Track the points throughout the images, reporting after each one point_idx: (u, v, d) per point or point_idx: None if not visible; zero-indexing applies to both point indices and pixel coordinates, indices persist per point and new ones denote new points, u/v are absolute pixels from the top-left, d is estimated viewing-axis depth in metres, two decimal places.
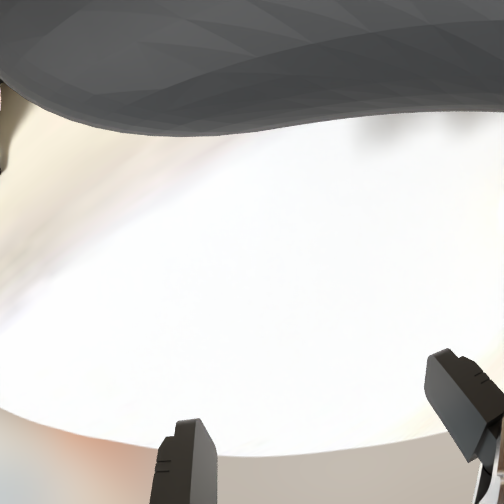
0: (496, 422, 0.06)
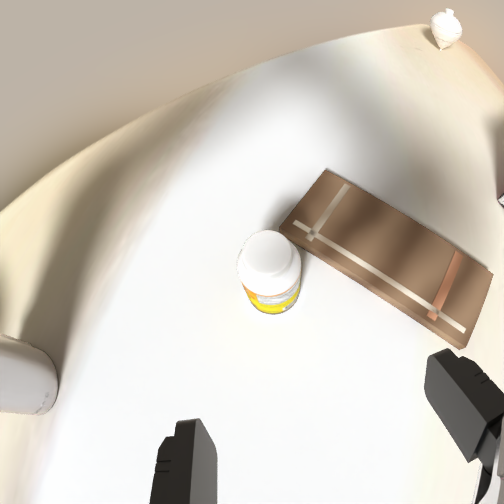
0: (496, 422, 0.06)
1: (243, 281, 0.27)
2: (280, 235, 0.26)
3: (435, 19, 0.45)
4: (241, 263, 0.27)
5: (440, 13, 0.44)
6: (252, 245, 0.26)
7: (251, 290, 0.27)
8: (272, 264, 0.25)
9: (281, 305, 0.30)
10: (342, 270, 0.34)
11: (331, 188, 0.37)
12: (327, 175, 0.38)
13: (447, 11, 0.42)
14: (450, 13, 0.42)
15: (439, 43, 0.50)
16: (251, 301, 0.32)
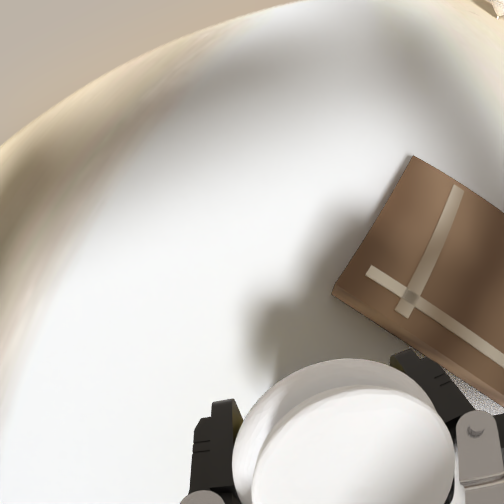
0: (453, 425, 0.06)
1: None
2: (421, 410, 0.05)
3: None
4: (248, 473, 0.06)
5: None
6: (300, 465, 0.05)
7: None
8: None
9: None
10: (462, 375, 0.13)
11: (433, 194, 0.16)
12: (419, 166, 0.17)
13: None
14: None
15: (497, 8, 0.29)
16: None
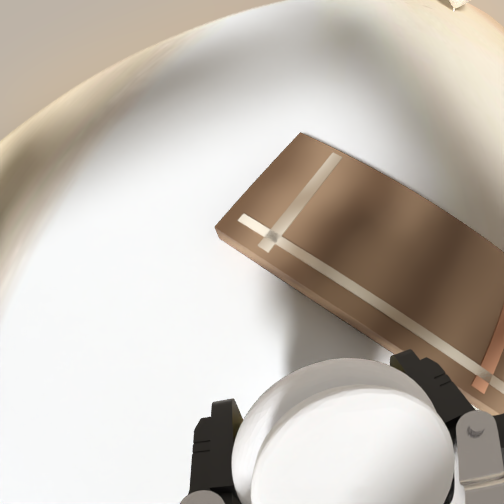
0: (453, 425, 0.06)
1: None
2: (421, 410, 0.05)
3: None
4: (248, 473, 0.06)
5: None
6: (299, 464, 0.05)
7: None
8: None
9: None
10: (325, 305, 0.19)
11: (310, 160, 0.22)
12: (303, 140, 0.23)
13: None
14: None
15: (452, 1, 0.34)
16: None
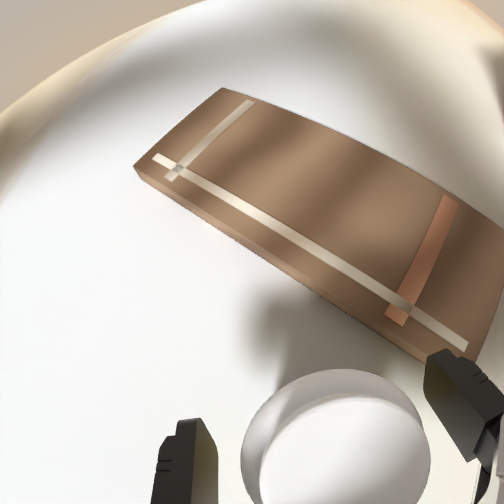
0: (495, 422, 0.06)
1: None
2: (400, 415, 0.06)
3: None
4: (255, 468, 0.07)
5: None
6: (299, 459, 0.06)
7: None
8: None
9: None
10: (221, 228, 0.19)
11: (224, 108, 0.23)
12: (223, 93, 0.24)
13: None
14: None
15: None
16: None
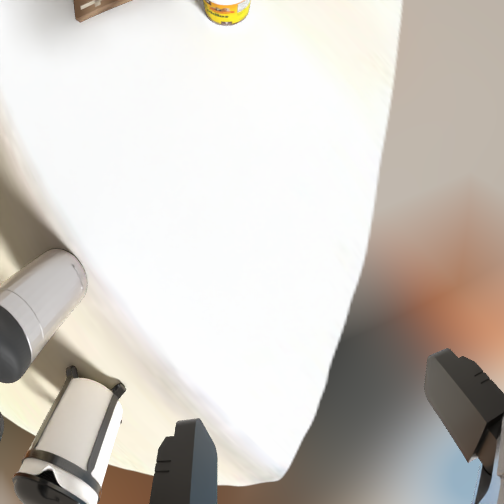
0: (496, 422, 0.06)
1: (225, 2, 0.26)
2: None
3: None
4: None
5: None
6: None
7: (234, 3, 0.26)
8: None
9: (249, 5, 0.29)
10: None
11: None
12: None
13: None
14: None
15: None
16: (226, 21, 0.31)
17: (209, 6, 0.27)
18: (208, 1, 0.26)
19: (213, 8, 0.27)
